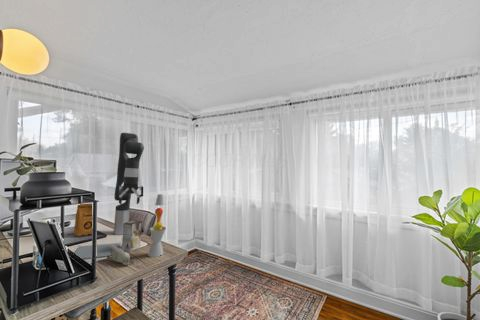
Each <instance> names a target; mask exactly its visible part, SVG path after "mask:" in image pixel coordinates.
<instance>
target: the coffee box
mask: <svg viewBox="0 0 480 320" xmlns="http://www.w3.org/2000/svg"><path fill="white" fill-rule="evenodd" d="M142 224H143V221H142V220H136V219H133V220H130V221H128V222H126V223H124V225H123V234H122V238H121V241H122V242H121V249H122V250H123V251H124V252H126V251H127V252H132V251H133V250H135V249H138V248H140V247H141V239H142V238H141V237H142Z"/></svg>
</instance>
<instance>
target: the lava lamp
mask: <svg viewBox="0 0 480 320" xmlns="http://www.w3.org/2000/svg"><path fill="white" fill-rule="evenodd" d="M154 205H155V206H164V205H165V199H164V194H162V193H159V194H158V193H157V196H156V201H155V204H154ZM163 213H164V210H163V208H161V207H158V208H156V209H155V211H154V214H155V216H156V223H155V225H154V226H152V227H149V232H150V236H151V240H152V243H151V246H150V247H149V251H148V253H147V256H148V257H149V256H150V258H158V257H157V256H160V255H162V254H163V253H164V250H163V245H162V239H163V237H164V234H165V232H166V230H167V229H166V227H165V226H163V223H162V222H161V219H162V215H163ZM163 255H164V254H163ZM163 255H162V256H163ZM160 257H161V256H160Z"/></svg>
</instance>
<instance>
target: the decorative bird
mask: <svg viewBox="0 0 480 320" xmlns="http://www.w3.org/2000/svg"><path fill="white" fill-rule="evenodd" d="M110 244H111V245H110V246H109V247H110V248H111V250H110V256H111V257H110V256H107V257H106V260H109V259H112V260H113V261H114V262H116V263H121V264H122V263H124V265H125V266H126V267H129V265H130V261H131V257H130V254H129V253H128V252H126V251H125V250H122V247H120V248H117V247H116V246H114V245H112V243H110Z"/></svg>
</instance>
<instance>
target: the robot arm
mask: <svg viewBox="0 0 480 320" xmlns="http://www.w3.org/2000/svg"><path fill="white" fill-rule="evenodd" d="M119 136H120V137H119V154H118V160H117V161H118V162H117V173H116V182H115V190H114V200H115V201H118V205H116V206H115V212H114V214H115V215H114V220H113V232H112V233H113V235H117V236H118V235H119V236H121V235H123V225H124V223H126V222H129V219H130V209H131V207H130V205H131V197H132V194H133V195H134V194H135V196H136V205H138V204H140V201H141V200H140V198H142V197H144V186H143V185H141V186H139V176H140V170H139V169H140V161H141V157H142V155H143V152H144V149H145V146H144V144H143V143H142V142H139V137H138V135H137V134H135V133H133V132H132V133H131V132H130V133H129V132H121V133H120V135H119ZM129 154H131V155H135V156H133V157H129ZM138 189H139V191H140V194H139V193H138V191H137V190H138ZM122 201H123V203H122Z"/></svg>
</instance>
